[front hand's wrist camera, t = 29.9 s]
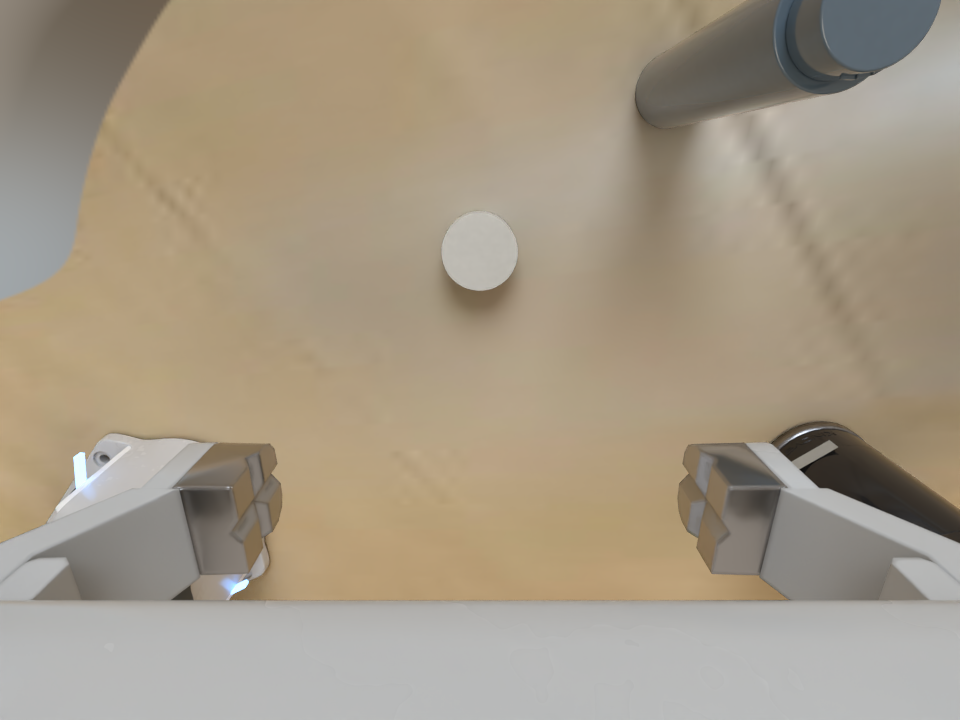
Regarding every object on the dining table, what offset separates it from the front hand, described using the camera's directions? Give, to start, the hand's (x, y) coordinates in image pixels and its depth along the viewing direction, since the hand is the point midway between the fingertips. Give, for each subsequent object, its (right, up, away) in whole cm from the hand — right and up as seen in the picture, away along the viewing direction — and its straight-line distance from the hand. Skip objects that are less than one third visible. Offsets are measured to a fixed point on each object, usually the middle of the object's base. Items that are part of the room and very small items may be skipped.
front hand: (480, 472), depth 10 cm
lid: (0, +10, +27) cm, 29 cm away
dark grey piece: (+13, +21, +25) cm, 35 cm away
